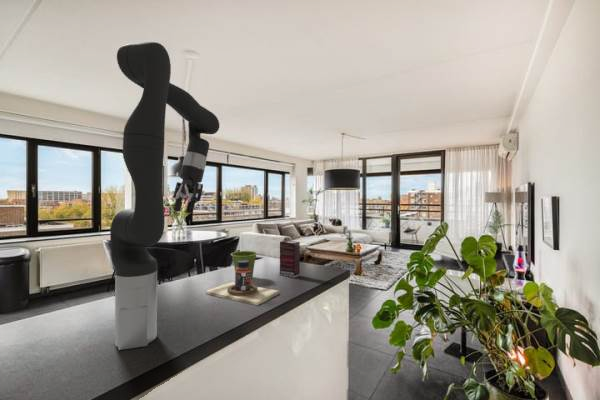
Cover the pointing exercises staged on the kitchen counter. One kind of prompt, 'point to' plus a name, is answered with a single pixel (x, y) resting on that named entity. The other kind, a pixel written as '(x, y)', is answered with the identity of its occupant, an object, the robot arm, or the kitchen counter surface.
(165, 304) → the kitchen counter surface
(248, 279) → the supplement bottle
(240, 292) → the stool seat board
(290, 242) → the supplement box
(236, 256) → the plant pot
